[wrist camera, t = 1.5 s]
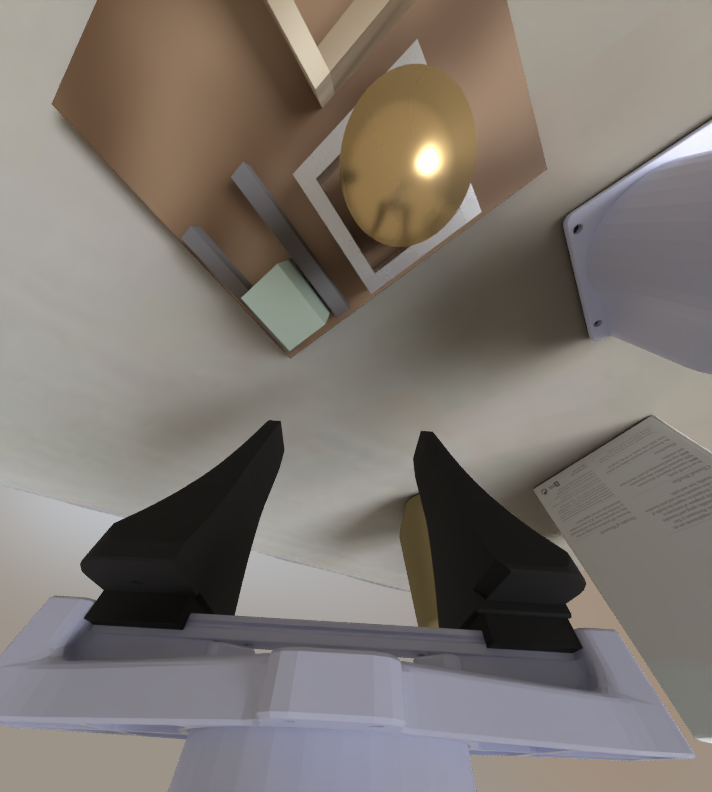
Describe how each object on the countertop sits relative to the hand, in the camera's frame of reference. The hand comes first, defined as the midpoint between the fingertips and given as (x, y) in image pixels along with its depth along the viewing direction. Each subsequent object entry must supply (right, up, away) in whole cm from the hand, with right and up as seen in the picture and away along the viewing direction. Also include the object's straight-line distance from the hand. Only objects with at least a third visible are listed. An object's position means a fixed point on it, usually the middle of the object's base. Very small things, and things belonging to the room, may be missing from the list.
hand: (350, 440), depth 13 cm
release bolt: (-4, +9, +4) cm, 11 cm away
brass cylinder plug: (+2, +14, +1) cm, 14 cm away
